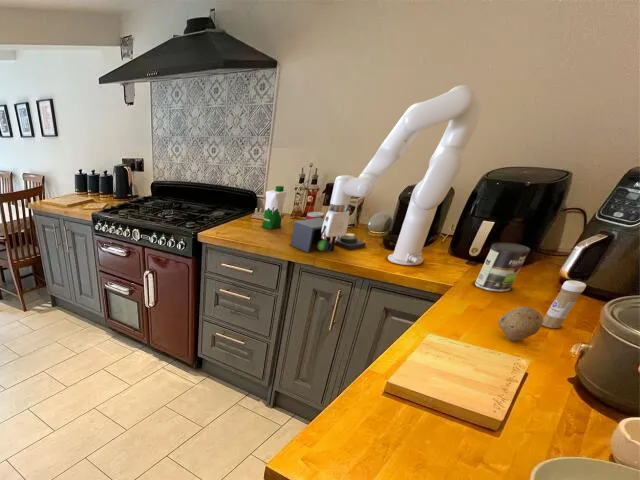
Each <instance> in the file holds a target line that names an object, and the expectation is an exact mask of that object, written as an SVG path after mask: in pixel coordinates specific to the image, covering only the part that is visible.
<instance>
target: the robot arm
mask: <svg viewBox="0 0 640 480" xmlns="http://www.w3.org/2000/svg"><path fill="white" fill-rule="evenodd" d="M480 117H481V104H480V100H479V97H478V96H477V93H476V89H474V88H473V87H472V86H470V85H467V84H460V85H456V86H454V87H453V88H451V89H450V90H449V91H447V92H444V93H442V94H440V95H437V96H435V97H433V98H430V99H427V100H424V101H422V102H421V101H418V102H415V103H413V104H412V105H410V106H409V107H408V108H407V109H406V111H404V113H403V115H402V116H401V117H400V118H399V120H398V121H397V122H396V124H395V125H394V126H393V128H392V129H391V131H390V132H389V134H388V135H387V137H386V138H385V139H384V141H382V143H381V145H380V146H379V147H378V148H377V150H376V153H375V154H374V155H373V157H372V158H371V160H370V161H369V162H368V163H367V165H366V166H365V168H364V169H363V170H362V172H361V173H360V174H359V175H358V177H355V176H354V175H351V174H342V175H338V176H337V177H336V178H335V180H334V183H333V188H332V193H331V196H330V197H331V198H330V202H329V206H327V210H328V211H327V212H326V214H325V216H324V218H323V219H324V223H323V226H322V231H321V234H322V237H321V239H324V240H326V242H327V243H326V248H325V251H326V252H327V253H332V252H334V248H335V243H336V241H337V239H338V238H341V237H342V236H345V234H347V231H348V226H349V222H350V210H349V207H350V205H351V200H352V197H355V198H366V197H369V196H371V194H373V193H374V190H375V188H376V185H377V184H378V182H379V181H380V179H381V178H382V177H383V175H384V174H385V173H386V172H387V170H389V168H390V167H391V166H392V165H393V164H394V163H395V162H397V160H399V159H400V158H401V157H402V156H403V154H404V153H405V152H406V151H407V149H408V148H409V146H410V145H411V144H412V143H413V141H414V140H415V139H416V137H418V135H419V134H420V132H421V131H422V130H426V129H428V128H431V127H434V126H437V125H440V124H442V123H445V122H448V123H447V126H446V128H445V130H444V133H443V135H442V137H441V139H440V141H439V143H438V144H437V147H436V149H435V150H434V152H433V154H432V155H431V157H430V159H429V162H428V168H427V170H426V172H425V174H424V176H423V178H422V179H421V180H420V181H419V182H418V183H417V184H416V185H415V186H414V188H413V190H412V193H411V196H410V201H409V203H408V207H407V211H406V214H405V217H404V220H403V222H402V225H401V229H400V232H399V235H398V238H397V241H396V244H395V247H394V250H393V253H390V254H388V256H387V260H388V262H391V263H393V264H397V265H403V266H418V265H421V264H422V263H423V262H424V260H425V258H424V257H422V255H423V248H424V246H425V244H426V243H425V242H426V240H427V237H428V235H429V232H430V229H431V226H432V224H433V221H434V218H435V215H436V212H437V209H438V206H440V205H441V203H442V202H443V201H444V200H445V198H446V197H447V195H448V193H449V191H450V189H451V188H452V186H453V184H454V183H455V180H456V179H457V177H458V175H459V173H460V172H461V170H462V167H463V165H464V161H465V160H464V153H465V151H466V149H467V147H468V144H469V143H470V141H471V139H472V136H473V135H474V133H475V131H476V129H477V126H478V124H479V121H480ZM329 237H330V238H329ZM325 251H324V252H325Z"/></svg>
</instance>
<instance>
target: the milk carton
mask: <svg viewBox="0 0 640 480" xmlns="http://www.w3.org/2000/svg"><path fill="white" fill-rule="evenodd" d="M284 188H285V187H284V185H276V186H275V189H272V190H267V191H265V206H264V213H263V220H262V224H261V227H263V228H265V229H269V230H274V229H278V228H281V226H282V216H283V211H284V205H285V204H284V203H285V200H286V197H287V194H288V191H287V190H285V189H284Z"/></svg>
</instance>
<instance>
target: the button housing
mask: <svg viewBox="0 0 640 480" xmlns="http://www.w3.org/2000/svg"><path fill="white" fill-rule="evenodd" d="M344 237H345V235H343V236H342V237H339V238H338V239H337V241H336V243H335V244H334V246H338V247H340V248H343V249H346V250H348V251H351V250H355V249H356V250H357V249H361V248H365V247H366V242H364V241H362V240H359V239H358V237H357V236H354V239H346V238H344Z"/></svg>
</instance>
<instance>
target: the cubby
mask: <svg viewBox="0 0 640 480" xmlns="http://www.w3.org/2000/svg"><path fill="white" fill-rule="evenodd" d="M324 219H325V218H313V219H307V220H306V219H301V220H295V221H293V227H292V234H291V240H290V244H289V245H290V246H291V247H294V248H296V249H298V250H301V251H302V252H306V253H310V252H311V248H312V243H316V244H318V242H319V241H320V240H324V239H321V237H322V234H321V231H322V226H323V223H324ZM329 238H330V237H329Z"/></svg>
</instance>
